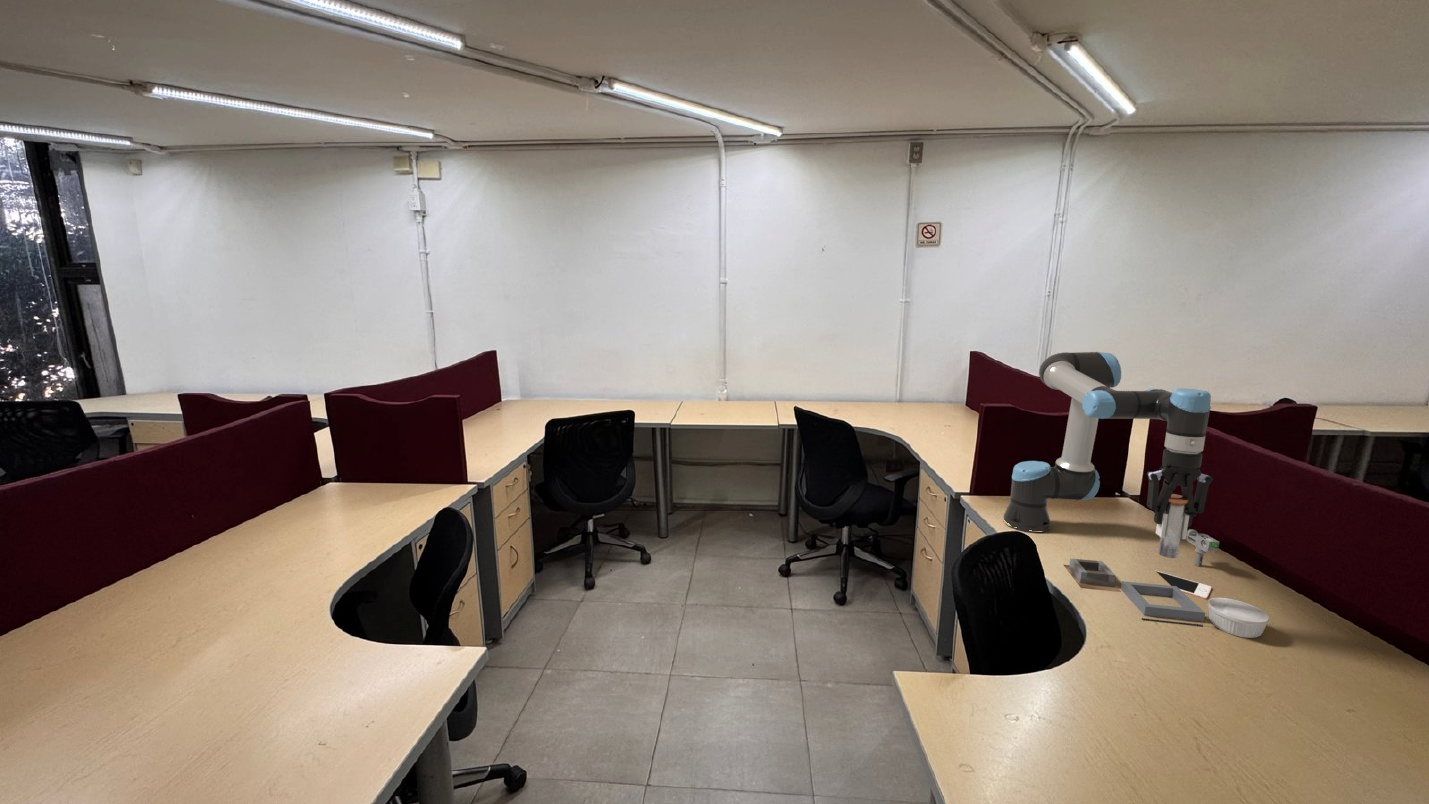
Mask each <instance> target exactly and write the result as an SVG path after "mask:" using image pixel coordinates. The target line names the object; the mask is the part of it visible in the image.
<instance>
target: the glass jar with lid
mask: <svg viewBox="0 0 1429 804" xmlns="http://www.w3.org/2000/svg"><path fill="white" fill-rule="evenodd" d="M1188 503H1189V499H1186V498H1185V497H1183V496H1182V494H1181V495H1180V494H1176V493H1172V495H1171V497H1170V498H1169V501H1168V505H1167V507H1166V510H1165V513H1167V514H1168V517H1167V524H1166V531H1165V538H1161V537H1160V536H1159V544H1158V551H1157V553H1158V555H1160V556H1162V557H1164V558H1167V559H1178V557H1179V551H1180V544H1181V532H1182V525H1183V518H1184V512H1185V505H1186V504H1188Z"/></svg>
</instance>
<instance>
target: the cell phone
mask: <svg viewBox="0 0 1429 804" xmlns="http://www.w3.org/2000/svg"><path fill="white" fill-rule="evenodd" d="M1154 571H1155V572H1156V573H1157V574H1158V575H1159V576H1160V577H1161V579H1163V580H1164V581H1165V582H1166V583H1168V585H1169V586H1177V587H1178V588H1179V589H1180V590H1181V591H1182V592H1183V593H1184V594H1185V595H1186V594H1187V595H1189V596H1193V597H1194V598H1195V597H1196V598H1200V599H1203V600H1207V599H1208V597H1209V595H1210V593H1211V591H1212V586H1211V585H1207V584H1205V583H1200V582H1197V581H1194V580H1190V579H1187V578H1184V577H1183V578H1182V577H1180V576H1176V575H1173V574H1169V573H1166V572H1162V571H1158V570H1154Z"/></svg>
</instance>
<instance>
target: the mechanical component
mask: <svg viewBox="0 0 1429 804" xmlns="http://www.w3.org/2000/svg"><path fill="white" fill-rule="evenodd" d="M1186 541H1187V542H1188V543H1189V544H1191V545H1193V546H1195V549H1194V551H1195V552H1196V554H1195V555H1196V557H1195V562H1194V566H1196V567H1199V566H1201V567H1203V566H1202V565H1203V560H1204V554H1207V552H1208V553H1217V552H1218V550H1219V547H1220V541H1219V540H1216V539H1215V538H1213V537H1211V536H1210V535H1208V534H1205V533H1198V531H1197V530H1196V529H1191V528H1189V529H1187V534H1186Z"/></svg>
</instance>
